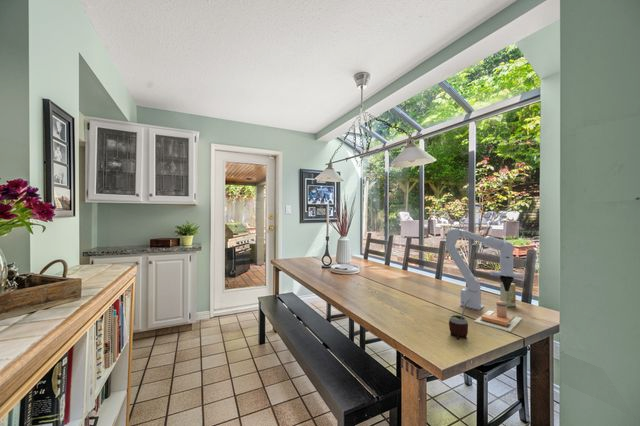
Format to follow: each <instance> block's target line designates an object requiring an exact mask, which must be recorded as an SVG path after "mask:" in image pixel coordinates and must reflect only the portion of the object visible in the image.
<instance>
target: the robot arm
mask: <svg viewBox="0 0 640 426" xmlns="http://www.w3.org/2000/svg"><path fill="white" fill-rule="evenodd" d="M460 238H461V239H471V240H474V241H476V242H477V241H478V242H481V243H482V244H483V246H485V247H487V248H491V249H493V250H495V251H499V269H500V270H499V271H497V270H495V271H494V270H490V272H489V273H490V274H489V275H490V276H498V277H499V280H500V281H501V283H503V285H504V288H505V291H509V289H510V285H511V283H513V281H514V279H517V280H519V279H520V280H525V278H526V277H525V275H524V274H519V273H514V251H515V247H514V244H512V243H511V242H509V241H507V240H504V239H502V238H501V239H499V238H497V237H494V235H487V236H482V235H480V234H476V233H473V232H471V231H468V230H465V229H461V228H459V229H458V228H456V227H452V228H449V229H448V231H447V232H446V235H445V249H446V251H447V252H448V254H449V256H450V257H451V259H452V260H453V262H454V263H455V265H456V267H457V268H458V270H459V271H460V273H461V275H462V277H463V278H464V280H465V282H466V287H465V288H461V291H460V304H459V305H460V306H462V307H464V305H465V303H466V302H467V301H468V300H469V302H468V303H467V304H466V308H470V309H473V310H478V311H480V310H481V309H482V308H484V307H485V305H483V304H482V290H481V288H482V286H481V283H480V280H479V278H477V276H475V275H474V274H473V272H472V271H471V269H470V268H469V266H468V264H466V262H465V260H464V258H463V257H462V255H461V254H460V252H459V250H458V249H457V248H456V245H457V242H458V240H459V239H460Z"/></svg>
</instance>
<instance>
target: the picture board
mask: <svg viewBox="0 0 640 426" xmlns="http://www.w3.org/2000/svg"><path fill="white" fill-rule="evenodd" d="M484 314H486V315H490V316H494V317H498V316H497V311H493V310H490V309H489V310H487V311H486V312H485V313H483V314H482V315H481V316H483V315H484ZM481 316H479V317H477V318H476V319H475V320H474V323H476V324H480V325H483V326H487V327H491V328H493V329H498V330H501V331H505V332H509V333H511V332H512V331H513V330H514V329H515V328H516V327H517V326H518V325H519V324H520V322H522V320H523V317H518V316H514V315H511V314H507V318H502V319H506V320H509V324H508V325H507V326H504V325H501V324H497V323H493V322H489V321H486V320H482V317H481ZM498 318H500V317H498Z"/></svg>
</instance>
